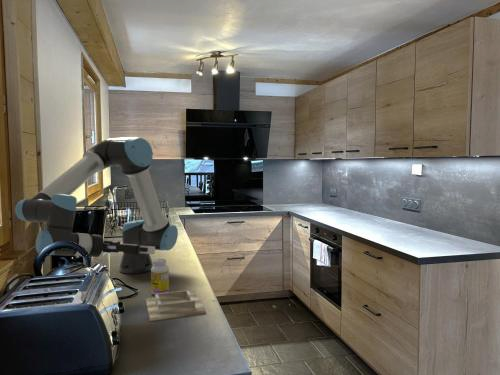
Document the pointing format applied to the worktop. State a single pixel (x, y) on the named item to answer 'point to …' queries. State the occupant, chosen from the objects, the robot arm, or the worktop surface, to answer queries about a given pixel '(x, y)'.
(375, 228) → the worktop surface
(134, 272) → the robot arm
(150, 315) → the holder board
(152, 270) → the supplement bottle
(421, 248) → the worktop surface
